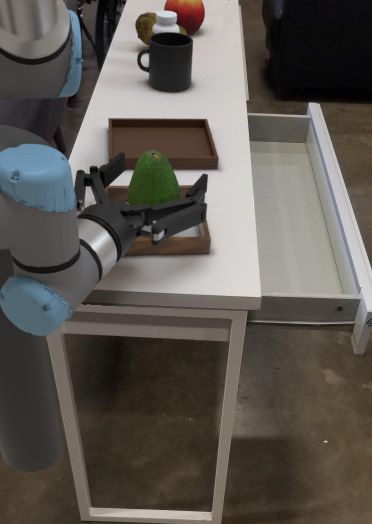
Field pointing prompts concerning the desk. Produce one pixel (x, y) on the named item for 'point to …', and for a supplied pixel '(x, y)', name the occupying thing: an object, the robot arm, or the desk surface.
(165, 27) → the pill bottle
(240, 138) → the desk surface
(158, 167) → the avocado
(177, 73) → the mug
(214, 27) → the desk surface
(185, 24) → the fruit
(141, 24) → the potato
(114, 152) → the tray
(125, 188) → the wooden frame
